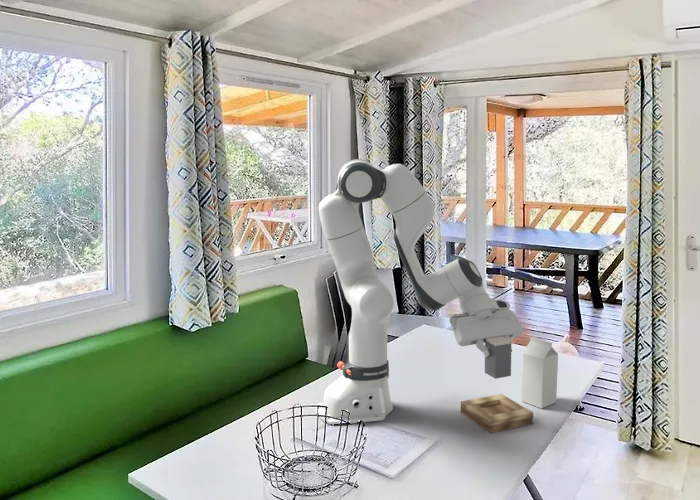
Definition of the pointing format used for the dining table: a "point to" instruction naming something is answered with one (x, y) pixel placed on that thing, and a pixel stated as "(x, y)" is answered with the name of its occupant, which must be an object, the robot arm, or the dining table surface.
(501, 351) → the plain greyish beige box
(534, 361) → the milk carton
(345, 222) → the robot arm
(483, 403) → the square wooden tray
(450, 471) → the dining table surface
